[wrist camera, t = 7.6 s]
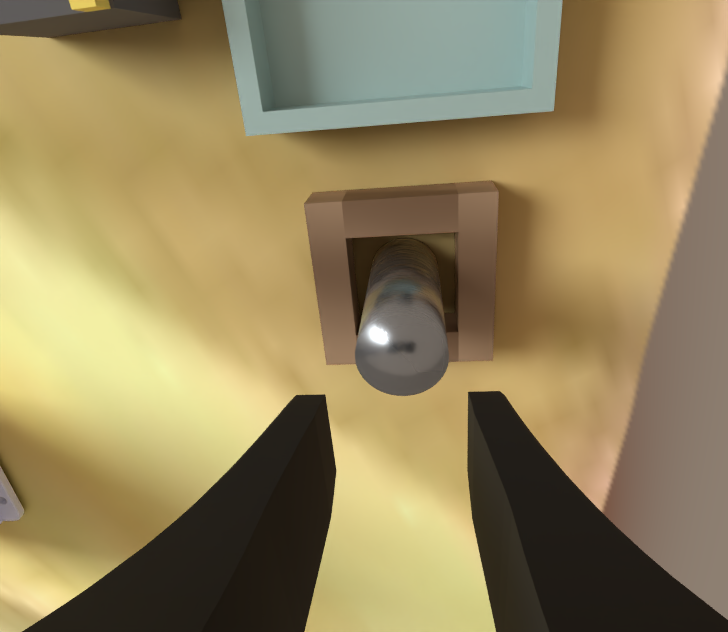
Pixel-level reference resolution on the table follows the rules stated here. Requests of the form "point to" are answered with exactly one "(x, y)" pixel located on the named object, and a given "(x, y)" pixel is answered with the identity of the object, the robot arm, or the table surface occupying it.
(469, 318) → the pin holder
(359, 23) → the tray
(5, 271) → the table surface
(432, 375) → the pin
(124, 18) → the chock
